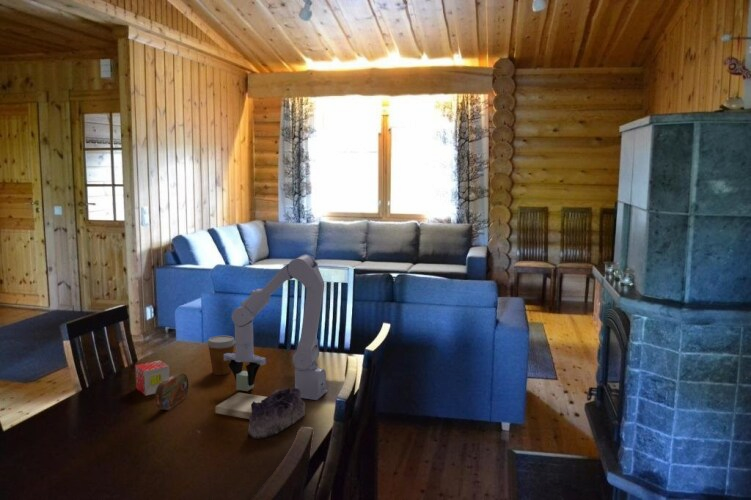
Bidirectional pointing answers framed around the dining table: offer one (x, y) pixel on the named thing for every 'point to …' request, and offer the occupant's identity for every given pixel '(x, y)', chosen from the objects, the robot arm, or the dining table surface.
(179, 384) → the tin
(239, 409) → the slab
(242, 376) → the block
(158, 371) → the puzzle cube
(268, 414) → the geode
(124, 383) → the dining table surface
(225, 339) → the disposable coffee cup
